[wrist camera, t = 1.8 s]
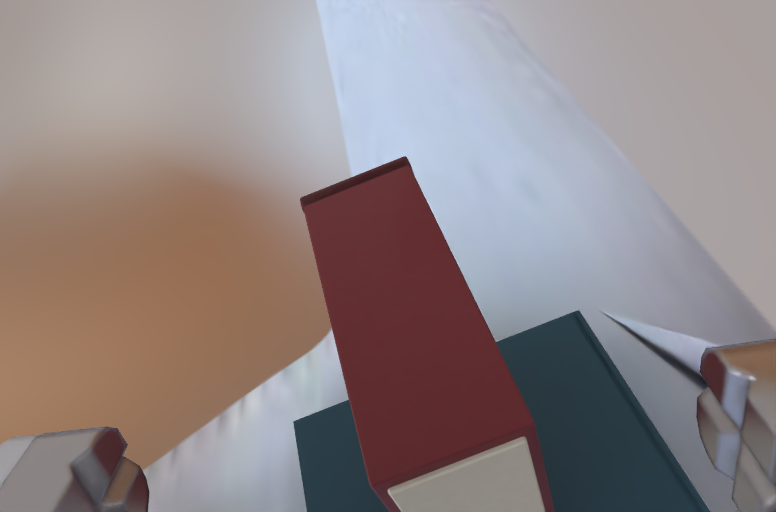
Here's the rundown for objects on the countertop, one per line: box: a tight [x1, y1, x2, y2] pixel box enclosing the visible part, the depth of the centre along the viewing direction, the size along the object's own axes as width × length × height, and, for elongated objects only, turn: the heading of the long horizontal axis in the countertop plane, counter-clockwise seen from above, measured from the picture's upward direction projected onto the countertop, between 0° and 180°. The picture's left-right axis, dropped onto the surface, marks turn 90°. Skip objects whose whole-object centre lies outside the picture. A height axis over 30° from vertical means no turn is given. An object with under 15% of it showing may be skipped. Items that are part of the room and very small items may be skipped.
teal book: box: [293, 310, 710, 512], centre depth 28 cm, size 16×13×3 cm
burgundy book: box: [300, 157, 555, 512], centre depth 22 cm, size 4×11×14 cm, turn 15°
